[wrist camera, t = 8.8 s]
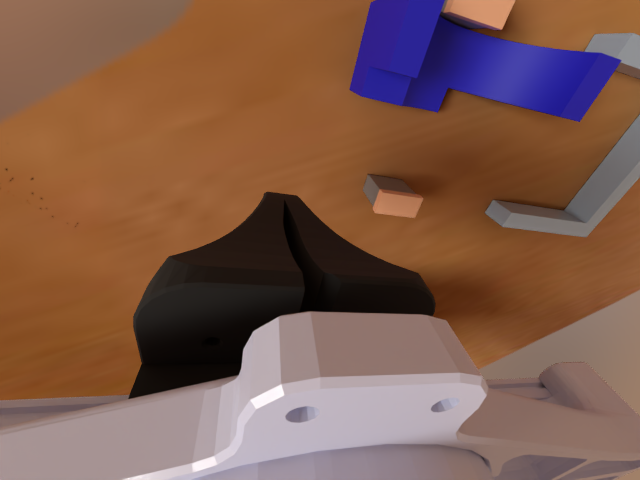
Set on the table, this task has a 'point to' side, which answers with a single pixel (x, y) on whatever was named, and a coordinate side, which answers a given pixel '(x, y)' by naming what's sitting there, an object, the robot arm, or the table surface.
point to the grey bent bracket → (608, 179)
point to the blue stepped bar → (468, 64)
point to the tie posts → (470, 13)
